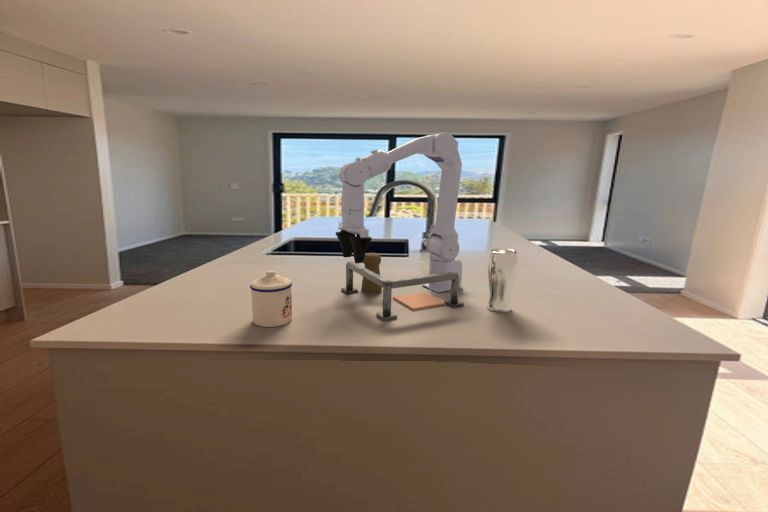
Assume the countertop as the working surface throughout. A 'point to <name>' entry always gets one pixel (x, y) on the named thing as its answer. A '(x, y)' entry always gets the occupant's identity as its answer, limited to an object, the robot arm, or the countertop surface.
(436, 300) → the mat
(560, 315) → the countertop surface
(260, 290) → the teacup with lid
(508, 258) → the beer glass
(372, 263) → the cork
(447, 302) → the bent rail
